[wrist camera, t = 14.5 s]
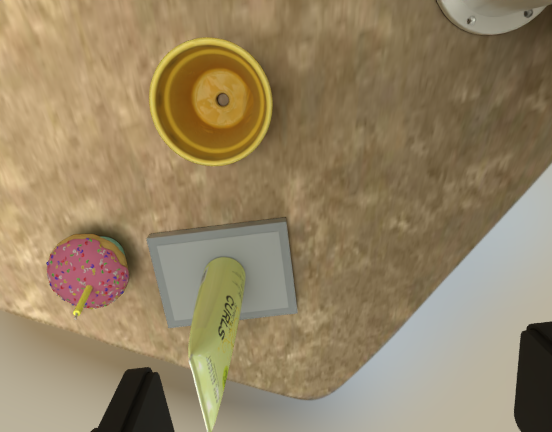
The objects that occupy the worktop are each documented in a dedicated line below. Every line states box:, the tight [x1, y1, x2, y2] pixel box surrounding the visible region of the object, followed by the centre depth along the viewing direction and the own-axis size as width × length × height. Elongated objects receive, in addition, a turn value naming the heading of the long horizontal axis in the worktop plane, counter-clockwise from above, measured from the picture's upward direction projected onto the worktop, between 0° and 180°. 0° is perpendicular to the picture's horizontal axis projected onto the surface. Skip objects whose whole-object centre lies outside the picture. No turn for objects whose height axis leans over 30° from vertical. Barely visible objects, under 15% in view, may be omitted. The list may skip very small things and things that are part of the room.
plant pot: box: [149, 38, 273, 166], centre depth 38 cm, size 10×10×10 cm
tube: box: [188, 257, 245, 432], centre depth 39 cm, size 6×5×20 cm
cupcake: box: [46, 234, 129, 320], centre depth 43 cm, size 9×8×12 cm
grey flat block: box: [147, 217, 297, 328], centre depth 49 cm, size 16×12×2 cm
